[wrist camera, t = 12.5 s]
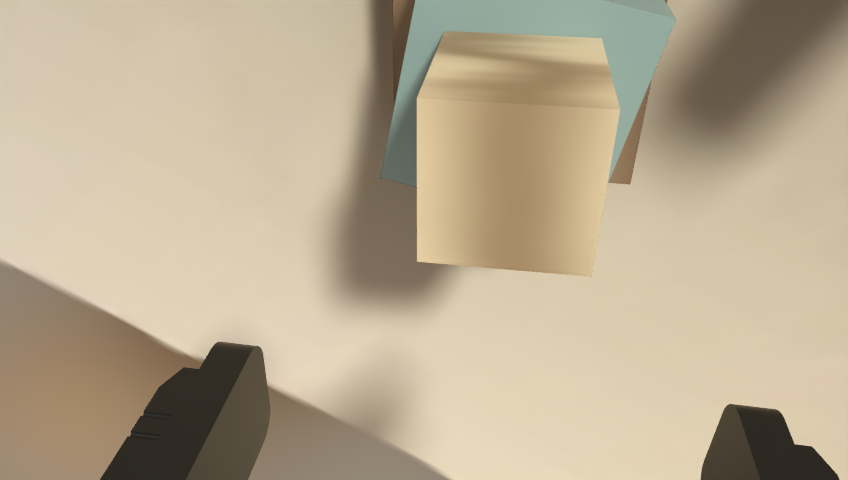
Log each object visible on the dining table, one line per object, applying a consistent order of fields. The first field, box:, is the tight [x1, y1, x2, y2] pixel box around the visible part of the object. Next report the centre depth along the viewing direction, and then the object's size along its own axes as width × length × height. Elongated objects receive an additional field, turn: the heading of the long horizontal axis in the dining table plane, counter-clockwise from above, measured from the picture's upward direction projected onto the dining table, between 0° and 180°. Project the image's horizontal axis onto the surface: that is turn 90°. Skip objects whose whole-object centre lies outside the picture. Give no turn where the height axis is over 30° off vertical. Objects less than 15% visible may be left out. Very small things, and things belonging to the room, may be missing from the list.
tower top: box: [380, 0, 676, 187], centre depth 25 cm, size 8×8×4 cm
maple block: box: [417, 31, 620, 277], centre depth 21 cm, size 5×5×6 cm
